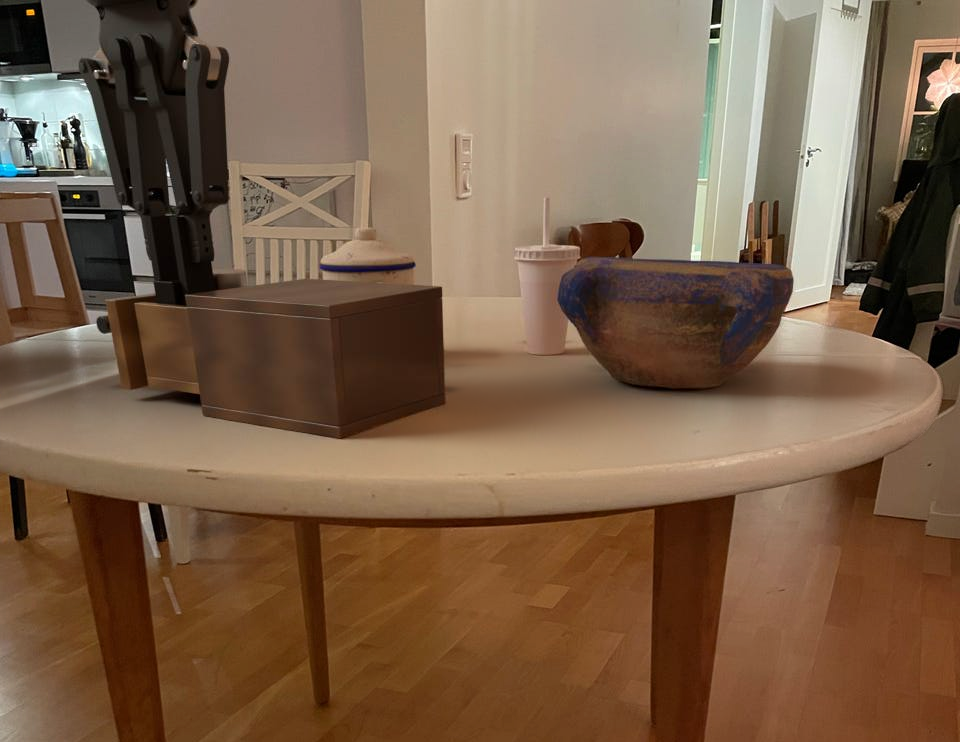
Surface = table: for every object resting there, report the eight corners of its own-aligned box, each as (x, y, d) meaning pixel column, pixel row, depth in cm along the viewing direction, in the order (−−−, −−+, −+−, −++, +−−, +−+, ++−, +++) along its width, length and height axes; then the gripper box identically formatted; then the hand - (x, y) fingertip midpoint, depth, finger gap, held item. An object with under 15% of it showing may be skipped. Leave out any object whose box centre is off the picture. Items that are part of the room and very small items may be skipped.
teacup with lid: (320, 352, 94) (309, 227, 88) (406, 346, 96) (401, 224, 91) (341, 373, 83) (330, 233, 78) (437, 366, 86) (433, 230, 81)
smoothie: (505, 355, 91) (505, 198, 84) (524, 345, 96) (525, 196, 90) (568, 358, 89) (573, 197, 82) (584, 347, 94) (589, 196, 88)
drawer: (78, 382, 77) (60, 295, 74) (185, 360, 85) (173, 282, 82) (230, 405, 68) (217, 309, 65) (332, 379, 76) (325, 292, 73)
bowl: (794, 368, 83) (811, 248, 78) (760, 410, 68) (778, 266, 64) (604, 355, 90) (609, 244, 85) (536, 391, 75) (538, 260, 71)
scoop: (184, 316, 70) (178, 279, 68) (151, 313, 71) (145, 277, 70) (259, 303, 75) (255, 269, 74) (227, 301, 77) (222, 268, 76)
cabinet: (202, 415, 69) (184, 294, 65) (315, 385, 79) (305, 278, 75) (340, 438, 62) (329, 305, 59) (445, 403, 72) (442, 286, 68)
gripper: (13, -59, 62) (85, 307, 73) (163, -95, 55) (220, 319, 65) (106, -41, 68) (161, 297, 78) (255, -71, 60) (293, 307, 71)
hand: (188, 306), depth 72 cm, fingers closed on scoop, 2 cm apart
